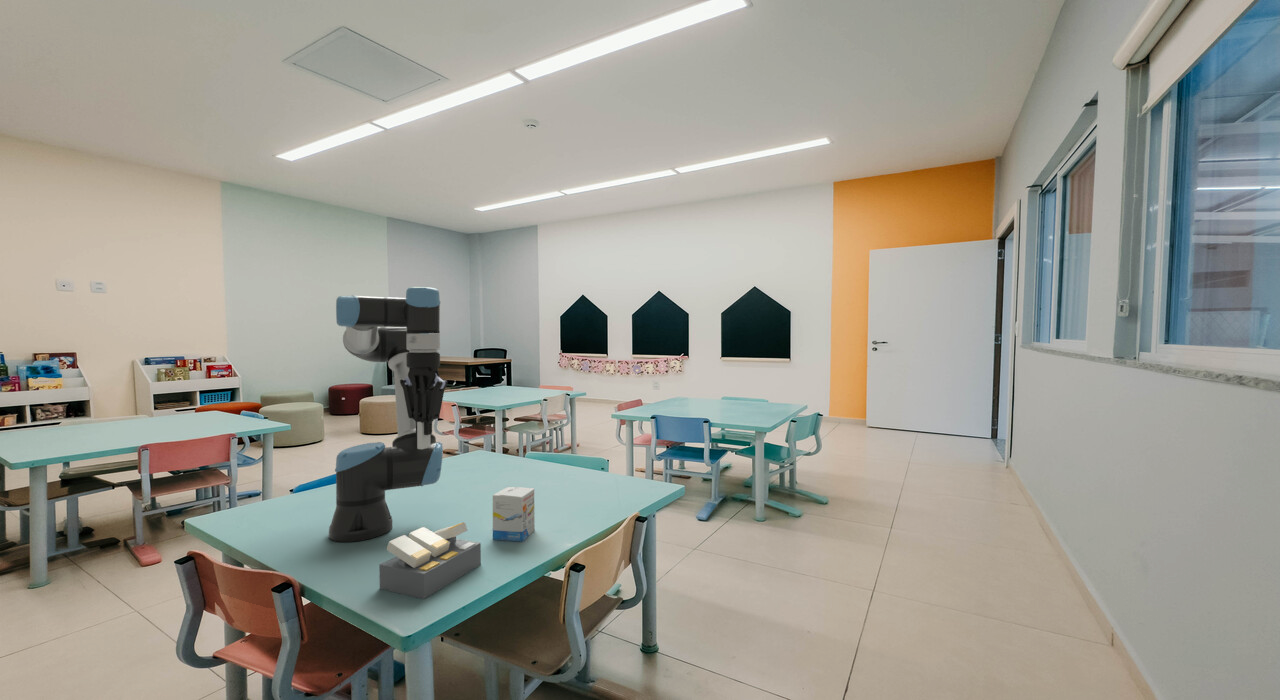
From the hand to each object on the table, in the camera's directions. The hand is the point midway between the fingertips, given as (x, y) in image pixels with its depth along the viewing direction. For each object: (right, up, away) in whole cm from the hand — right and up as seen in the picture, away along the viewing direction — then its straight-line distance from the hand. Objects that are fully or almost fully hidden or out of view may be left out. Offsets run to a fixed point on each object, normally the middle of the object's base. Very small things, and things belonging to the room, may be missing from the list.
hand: (424, 447), depth 124 cm
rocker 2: (+6, -18, -13) cm, 23 cm away
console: (+7, -26, -13) cm, 30 cm away
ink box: (+19, -26, +11) cm, 34 cm away
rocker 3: (+9, -18, -8) cm, 21 cm away
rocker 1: (+4, -18, -18) cm, 26 cm away
